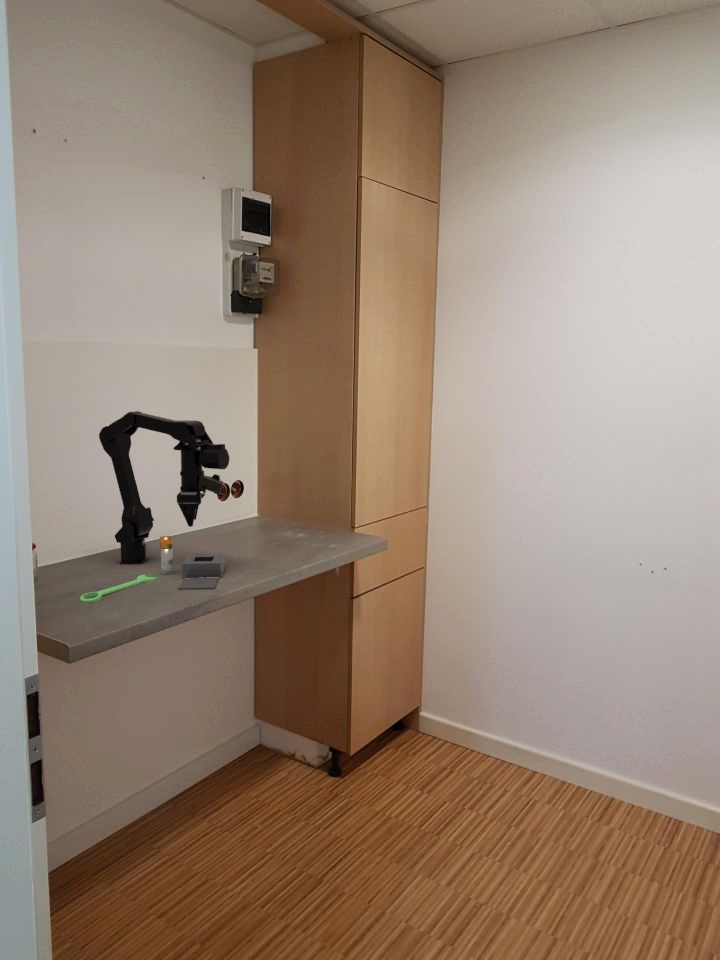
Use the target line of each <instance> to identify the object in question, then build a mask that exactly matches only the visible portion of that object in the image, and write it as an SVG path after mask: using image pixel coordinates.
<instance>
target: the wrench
mask: <svg viewBox="0 0 720 960" xmlns="http://www.w3.org/2000/svg"><path fill="white" fill-rule="evenodd" d="M152 576H153V574H150V573H149V574H142V575H138V576H137V577H136V579H134V580H132V581H131V580H130V581H127V582H125V583H121V584H118V585H116V586H111V587H109V588H106V589H102V590H99V591H91V592H86V593H83V594H82V595H81V596H79V597H80V598H79V600H80V602H83V603H93V602H98V601H100V600H102V598H103V596H106V595H110V594H112V593H115V592H119V591H121V590H125V589H128V588H130V587H133V586H137V585H139V583H140V584H142V582H143V583H151V582H150V581H152V582H155V580H156V581H157V580H158V577H157V576H154V577H152ZM136 584H137V585H136ZM92 597H93V598H92Z"/></svg>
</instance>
